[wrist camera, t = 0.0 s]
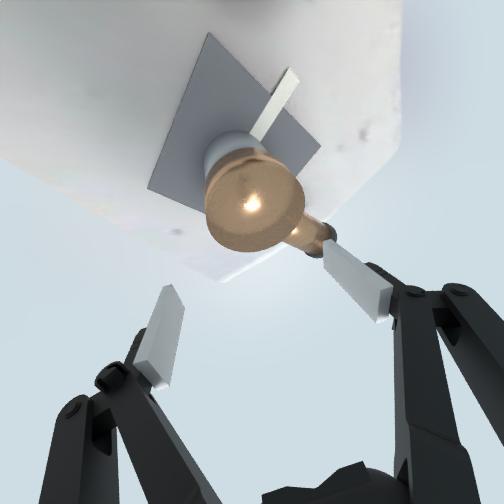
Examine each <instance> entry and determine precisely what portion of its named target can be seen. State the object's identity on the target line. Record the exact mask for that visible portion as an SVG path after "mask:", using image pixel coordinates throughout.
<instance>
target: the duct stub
mask: <svg viewBox="0 0 504 504" xmlns="http://www.w3.org/2000/svg"><path fill="white" fill-rule="evenodd" d="M299 82H300V79H299V78H298V77H297V76H296V75H295V73H294V72H293V71H292V70H291V68H290V67H289V69H288V70H287V72H286V73H285V75H284V77H283V78H282V80H281V82H280V83H279V85H278V87H277V88H276V90H275V92H274V93H273V95H272V96H271V95H270V94H269V93H268V92H267V91H266V90H265V89H264V88H263V87H262V86H261V85H260V84H259V83H258V81H257V80H256V79H255V78H254V77H253V76H252V75H251V74H250V73H249V72H248V71H247V70H246V69H245V68H244V67H243V66H242V65H241V64H240V63H239V62H238V61H237V60H236V59H235V58H234V57H233V56H232V55H231V54H230V53H229V52H228V51H227V50H226V49H225V48H224V47H223V46H222V45H221V44H220V43H219V42H218V41H217V40H216V39H215V38H214V37H213V36H212V35H211V34H210V33H208V36H207V38H206V41H205V43H204V46H203V48H202V51H201V53H200V56H199V58H198V61H197V63H196V66H195V68H194V71H193V73H192V76H191V78H190V81H189V84H188V86H187V89H186V91H185V94H184V96H183V99H182V101H181V104H180V106H179V109H178V111H177V114H176V116H175V119H174V121H173V124H172V126H171V129H170V131H169V134H168V136H167V139H166V142H165V144H164V147H163V149H162V152H161V154H160V157H159V159H158V162H157V164H156V167H155V169H154V172H153V174H152V177H151V179H150V182H149V184H148V187H147V189H149V190H151V191H154V192H156V193H158V194H161V195H163V196H165V197H167V198H170V199H172V200H174V201H177V202H179V203H181V204H184V205H186V206H188V207H191V208H193V209H195V210H198V211H200V212H202V213H205V214H206V212H205V203H204V195H203V192H204V183H205V180H206V177H207V175H208V172H209V171H210V169H211V168H212V166H213V165H214V164H215V163H216V162H217V161H218V160H219V159H220V158H221V157H223V156H224V155H226V154H227V153H229V152H231V151H233V150H236V149H240V148H246V147H255V148H261V149H264V150H267V151H269V152H271V153H273V154H274V155H276V156H277V157H278V158H279V159H280V160H281V161H282V163H283V164H284V165H285V166H286V167H287V168H288V170H289V171H290V172H291V173H292V174H293V175H294V177H296V176H297V175H298V173H299V172H300V171H301V170H302V169H303V167H304V166H305V165H306V164H307V163H308V161H309V160H310V159H311V158H312V156H313V155H314V154H315V153H316V152H317V150H318V149H319V148H320V147H321V145H320V144H319V143H318V142H317V141H316V140H315V139H314V138H313V137H312V136H311V135H310V134H309V133H308V132H307V131H306V130H305V129H304V128H303V127H302V126H301V125H300V124H299V123H298V122H297V121H296V120H295V119H294V118H293V117H292V116H291V115H290V114H289V113H288V112H287V111H286V110H285V109H284V108H283V106H284V105H285V103H286V102H287V100H288V98H289V97H290V95H291V94H292V92H293V91H294V89H295V88H296V86H297V85H298V83H299Z"/></svg>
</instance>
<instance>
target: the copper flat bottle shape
mask: <svg viewBox="0 0 504 504" xmlns="http://www.w3.org/2000/svg"><path fill="white" fill-rule="evenodd" d="M203 195H204V203H205V212H206V220H207V226H208V229H209V231H210V233H211V235H212V236H213V238H214V239H215V240H216V241H217V242H218V243H220V244H221V245H222V246H224V247H226V248H228V249H231V250H234V251H239V252H256V251H261V250H265V249H268V248H270V247H272V246H274V245H276V244H278V243H280V242H281V241H282V242H285V243H287V244H289V245H291V246H294V247H296V248H298V249H300V250H302V251H304V252H305V253H306V254H307V255H308V256H310V257H313V258H322V257H323V241H326V240H329V239H332V240H333V241H334V242H336V241H337V233H336V231H335V229H334V228H333V227H332V226H331V225H329V224H327V223H324V222H320V221H318V220H317V219H315V218H314V217H312V216H311V215H309V214H307V213H306V212H304V207H305V196H304V192H303V189H302V187H301V185H300V183H299V182H298V180H297V179H296V178H295V177H294V175H293V174H292V173H291V172H290V171H289V170H288V168H287V167H286V166H285V165H284V164H283V163H282V161H281V160H280V159H279V158H278V157H277V156H276V155H274V154H273V153H271V152H269V151H267V150H264V149H261V148H255V147H246V148H240V149H236V150H233V151H231V152H229V153H227V154H226V155H224V156H223V157H221V158H220V159H219V160H218V161H217V162H216V163H215V164H214V165H213V166H212V168H211V169H210V171H209V172H208V175H207V177H206V180H205V183H204V192H203Z"/></svg>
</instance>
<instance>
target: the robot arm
mask: <svg viewBox="0 0 504 504" xmlns="http://www.w3.org/2000/svg"><path fill="white" fill-rule="evenodd" d="M323 260H324V268H325V269H326V270H327V272H329V274H331V276H332V277H333V278H334V279H335V280H336V281H337V282H338V283H339V284H340V285H341V286H342V287H343V289H344V290H345V291H346V292H347V293H348V294H349V295H350V296H351V297H352V298H353V299H354V300H355V301H356V302H357V303H358V304H359V305H360V307H361V308H362V309H363V310H364V311H365V312H366V313H367V314H368V315H369V316H370V317H371V318H372V319H373V320H374V321H375V323H379V322H382V321H386V320H388V316H389V313H390V314H391V315H392V316H393V317H394V321H393V326H392V330H394V387H395V388H394V389H395V390H394V391H395V457H394V477H392V476H390V475H388V474H387V473H384V472H382V471H379V470H376V469H372V468H366V467H365V465H364V463H363V461H361V462H358V463H355V464H352V465H349V466H346V467H343V468H340V469H338V470H337V471H336V472H334V473H333V474H332V475H331V476H330V477H329V478H328V479H327V480H325V481H324V482H323V483H322V484H321V485H320V486H319V487H317V488H315V489H314V488H313V489H312V488H300V487H288V486H287V487H284V488H280V489H277V490H274V491H272V492H269V493H265V494H263V495H262V503H261V504H481V502H480V498H479V493H478V489H477V485H476V480H475V476H474V472H473V467H472V463H471V460H470V456H469V454H468V452H467V450H466V449H465V448H464V447H463V446H462V445H461V443H460V440H459V437H458V432H457V427H456V422H455V417H454V412H453V408H452V403H451V398H450V393H449V388H448V384H447V379H446V374H445V369H444V365H443V360H442V355H441V350H440V345H439V340H438V336H437V331H438V332H439V334H440V336H441V338H442V340H443V341H444V343H445V345H446V347H447V348H448V350H449V352H450V354H451V355H452V357H453V359H454V361H455V362H456V364H457V366H458V368H459V369H460V371H461V373H462V375H463V376H464V378H465V380H466V382H467V383H468V385H469V387H470V389H471V390H472V392H473V394H474V396H475V397H476V399H477V401H478V403H479V404H480V406H481V408H482V410H483V411H484V413H485V415H486V417H487V418H488V420H489V422H490V424H491V425H492V427H493V429H494V431H495V432H496V434H497V436H498V438H499V439H500V441H501V443H502V444H503V446H504V321H503V320H502V319H501V318H500V317H499V315H498V314H497V313H496V312H495V311H494V310H493V309H492V308H491V307H490V306H489V305H488V304H487V303H486V302H485V301H484V300H483V299H482V297H481V296H480V295H479V294H478V293H477V292H476V291H475V290H473V289H472V288H470V287H468V286H466V285H462V284H457V283H448V284H445V285H444V286H443V288H442V291H425V290H424V289H422V288H420V287H416V286H412V285H405V284H404V283H402V282H401V281H399V280H398V279H397V278H395V277H393V276H392V275H391V274H389V273H388V272H386V271H385V270H383V269H382V268H381V267H379V266H378V265H376V264H373V263H370V262H368V263H362V262H361V261H359V260H358V259H357V258H356V257H354V256H353V255H352V254H350V253H349V252H348V251H346V250H345V249H344V248H342V247H341V246H339V245H338V244H337V243H336V242H334V241H333V240H332V239H329V240H326V241H323ZM184 309H185V307H184V305H183V304H182V302H181V300H180V298H179V296H178V294H177V292H176V291H175V289H174V287H173V285H172V284H171V285H167V286H164V287H163V288H162V291H161V293H160V296H159V298H158V301H157V303H156V306H155V308H154V311H153V314H152V316H151V318H150V321H149V324H148V326H147V328H143V329H141V330H140V331H139V333H138V334H137V335H136V337H135V339H134V341H133V344H132V346H131V348H130V351H129V353H128V355H127V357H126V359H125V362H124V364H122V363H121V362H120V361H116V362H113V363H111V364H109V365H108V366H106V367H105V368H104V369H103V370H102V371H101V372H100V373H99V374H98V376H97V377H96V379H95V386H96V387H97V388H98V389H99V390H100V392H99V393H97V394H95V395H93V396H92V397H90V398H89V397H88V396H86V395H79V396H77V397H75V398H73V399H72V400H71V401H69V403H67V404H66V405H65V406H64V407H63V408H62V410H61V411H60V413H59V414H58V417H57V419H56V423H55V428H54V432H53V437H52V442H51V447H50V452H49V457H48V461H47V466H46V471H45V475H44V480H43V485H42V490H41V494H40V499H39V504H119V479H118V456H117V455H118V454H117V429H116V427H118V429H119V432H120V434H121V437H122V439H123V442H124V444H125V446H126V449H127V452H128V454H129V457H130V459H131V462H132V464H133V467H134V469H135V472H136V474H137V476H138V479H139V482H140V484H141V486H142V489H143V491H144V494H145V496H146V499H147V501H148V504H222V502H221V501H220V499H219V498H218V496H217V495H216V493H215V492H214V490H213V489H212V487H211V485H210V484H209V482H208V481H207V480H206V478H205V476H204V474H203V473H202V471H201V470H200V468H199V467H198V465H197V464H196V462H195V461H194V459H193V458H192V456H191V454H190V453H189V451H188V450H187V448H186V447H185V445H184V444H183V442H182V440H181V439H180V438H179V436H178V434H177V433H176V431H175V430H174V428H173V427H172V425H171V423H170V422H169V420H168V419H167V417H166V416H165V414H164V413H163V411H162V409H161V408H160V406H159V405H158V403H157V402H156V400H155V399H154V397H153V396H152V395H151V393H150V391H151V388H152V386H153V387H154V388H155V389H156V390H160V389H163V388H167V387H169V386H170V380H171V375H172V371H173V365H174V360H175V355H176V350H177V345H178V340H179V335H180V330H181V325H182V320H183V315H184ZM436 329H437V331H436Z"/></svg>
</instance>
